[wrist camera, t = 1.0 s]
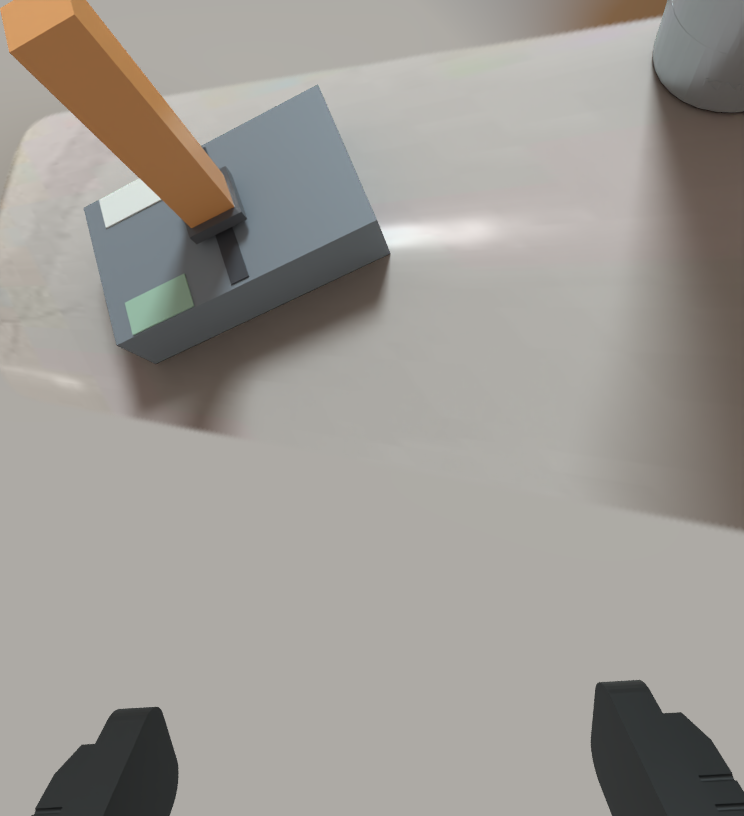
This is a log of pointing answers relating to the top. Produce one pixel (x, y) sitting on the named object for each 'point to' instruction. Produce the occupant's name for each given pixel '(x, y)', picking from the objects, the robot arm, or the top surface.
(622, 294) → the top surface
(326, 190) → the switch box
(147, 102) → the handle
